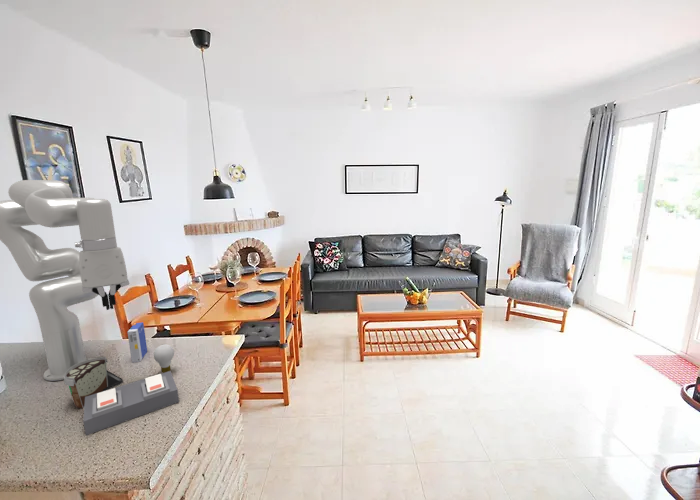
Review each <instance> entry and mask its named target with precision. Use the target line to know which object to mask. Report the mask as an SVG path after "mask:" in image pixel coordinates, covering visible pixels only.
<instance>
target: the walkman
mask: <svg viewBox="0 0 700 500" xmlns="http://www.w3.org/2000/svg"><path fill="white" fill-rule="evenodd" d="M127 336H128V337H127V338H128V345H129V350H130V357H131V358H130V359H131V363H140V362H142V360H143V358H144V357H145V356H146V354H147V352H148V347H147V339H146V331H145V325H144V322H135V323H133V325H132V326H131V327H130V329H128V331H127Z"/></svg>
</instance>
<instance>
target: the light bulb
mask: <svg viewBox="0 0 700 500" xmlns="http://www.w3.org/2000/svg"><path fill="white" fill-rule="evenodd" d="M174 355H175V349H174V348H173V346H172V345H170V344H167V343H164V344H160V345H158V346H157V347H156V348H155V349H154V352H153V359H154V360H155V362H157V363H158V365H159V367H160V370H161V374H162V373H165V372H168V371H171V370H172V369H171V368H172V367H171V365H172V360H173V358H174Z"/></svg>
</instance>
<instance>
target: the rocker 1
mask: <svg viewBox="0 0 700 500" xmlns="http://www.w3.org/2000/svg"><path fill="white" fill-rule="evenodd" d="M115 388H116V387H113V388H111V389H110V390H106V391H103V392H100V393H97V408H98V411H99V410H102V409H105V408H108V407H111V406H114V405H117V398H116V389H115Z"/></svg>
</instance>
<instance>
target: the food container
mask: <svg viewBox="0 0 700 500" xmlns="http://www.w3.org/2000/svg"><path fill="white" fill-rule="evenodd" d="M108 362H109V361H108V359H107V357H106V356H100V357H94V358H89V360H86V361H83V362H80V363H78V364H76V365H74V366H72V367H71V368H69V369H68V370H67V371H66V373H65V376H64V380H63V383H64V385H66V386H68V389H69V392H70V396H71V398H72V400H73V403H74V407H76V408H77V409H83V410H84V404H85V397H86V396H90V395H93V394H96V393H99V392H103V389H105V388H106V387H108V379H107V368H108V367H107V363H108Z"/></svg>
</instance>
